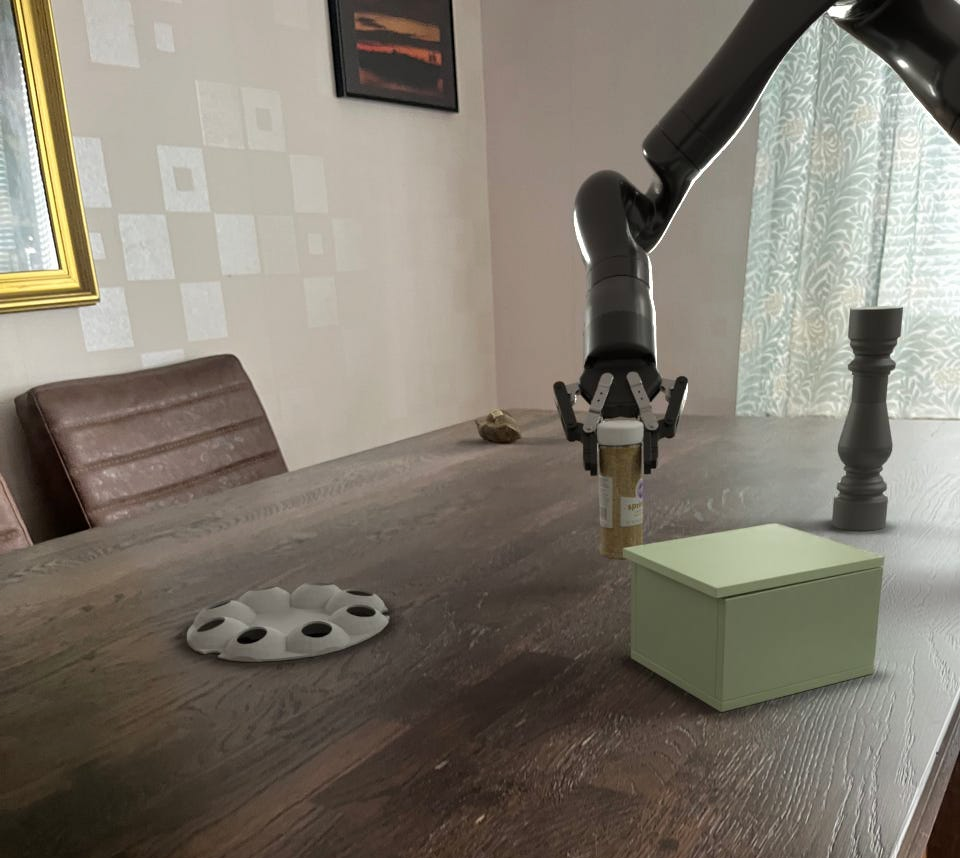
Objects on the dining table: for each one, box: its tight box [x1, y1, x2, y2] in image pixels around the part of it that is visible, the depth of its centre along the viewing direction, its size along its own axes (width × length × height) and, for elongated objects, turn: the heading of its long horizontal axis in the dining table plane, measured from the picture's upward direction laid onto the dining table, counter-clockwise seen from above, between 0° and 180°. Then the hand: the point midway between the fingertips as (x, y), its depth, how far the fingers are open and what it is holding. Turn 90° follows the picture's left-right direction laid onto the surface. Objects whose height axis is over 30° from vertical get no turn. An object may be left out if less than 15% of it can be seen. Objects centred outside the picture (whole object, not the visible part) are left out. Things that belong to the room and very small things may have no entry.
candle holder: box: [831, 305, 904, 532], centre depth 117 cm, size 6×6×25 cm
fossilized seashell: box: [474, 408, 523, 443], centre depth 191 cm, size 8×7×10 cm
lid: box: [623, 522, 885, 598], centre depth 79 cm, size 15×13×1 cm
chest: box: [630, 561, 884, 713], centre depth 80 cm, size 15×13×9 cm
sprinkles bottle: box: [597, 419, 644, 561], centre depth 100 cm, size 5×5×13 cm
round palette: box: [186, 582, 390, 663], centre depth 97 cm, size 20×20×2 cm
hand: (620, 470), depth 98 cm, fingers closed on sprinkles bottle, 4 cm apart
